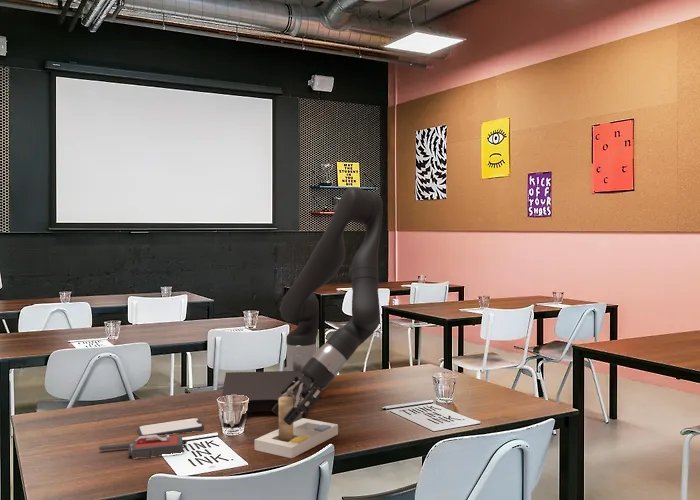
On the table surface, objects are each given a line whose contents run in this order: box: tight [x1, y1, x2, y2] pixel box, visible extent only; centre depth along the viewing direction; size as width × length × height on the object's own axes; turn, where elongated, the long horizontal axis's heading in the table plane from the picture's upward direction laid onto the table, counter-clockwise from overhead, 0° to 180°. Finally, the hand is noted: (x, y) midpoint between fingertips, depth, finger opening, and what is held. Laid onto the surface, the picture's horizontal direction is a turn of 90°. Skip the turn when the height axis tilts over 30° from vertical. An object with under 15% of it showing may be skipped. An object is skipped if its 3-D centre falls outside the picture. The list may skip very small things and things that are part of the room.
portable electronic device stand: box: [221, 370, 303, 422], centre depth 177 cm, size 23×23×9 cm
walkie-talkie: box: [98, 435, 188, 459], centre depth 147 cm, size 9×4×20 cm
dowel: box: [278, 396, 293, 442], centre depth 150 cm, size 4×4×12 cm
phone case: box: [137, 417, 205, 436], centre depth 164 cm, size 9×2×16 cm
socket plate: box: [254, 417, 339, 459], centre depth 154 cm, size 20×11×3 cm, turn 149°
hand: (280, 417), depth 149 cm, fingers open, 8 cm apart
